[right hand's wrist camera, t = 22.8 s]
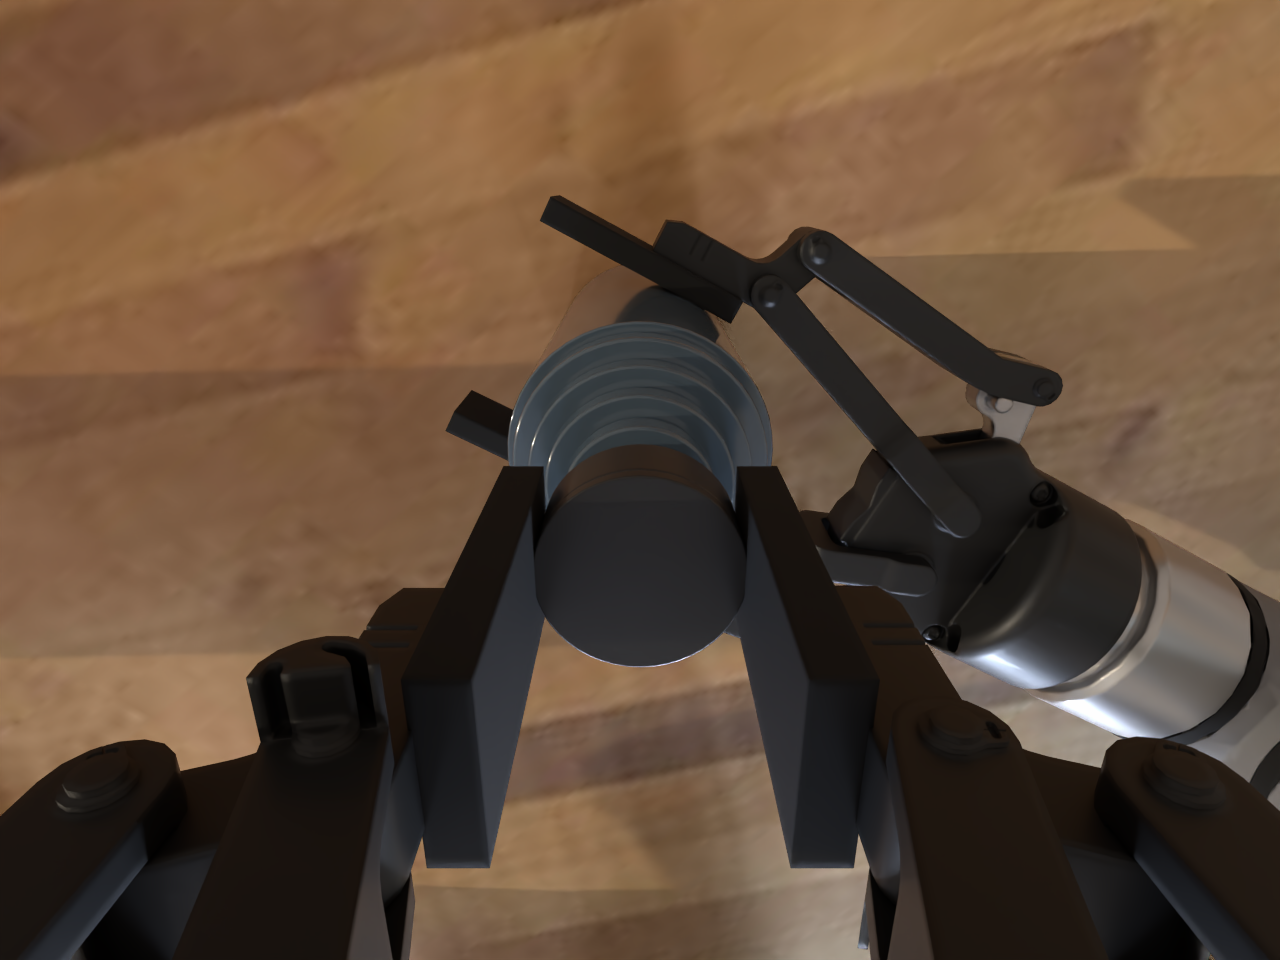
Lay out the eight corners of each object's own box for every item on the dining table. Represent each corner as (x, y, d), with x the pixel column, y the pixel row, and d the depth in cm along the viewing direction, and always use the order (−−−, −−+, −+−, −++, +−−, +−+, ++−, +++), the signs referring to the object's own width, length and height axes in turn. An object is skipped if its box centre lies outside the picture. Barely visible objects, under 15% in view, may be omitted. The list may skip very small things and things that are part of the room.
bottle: (540, 290, 31) (399, 440, 13) (695, 241, 30) (776, 327, 12) (590, 436, 33) (530, 737, 15) (735, 394, 32) (853, 657, 14)
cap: (505, 502, 14) (489, 541, 13) (677, 406, 13) (682, 435, 12) (607, 646, 15) (603, 699, 14) (770, 565, 15) (785, 611, 13)
